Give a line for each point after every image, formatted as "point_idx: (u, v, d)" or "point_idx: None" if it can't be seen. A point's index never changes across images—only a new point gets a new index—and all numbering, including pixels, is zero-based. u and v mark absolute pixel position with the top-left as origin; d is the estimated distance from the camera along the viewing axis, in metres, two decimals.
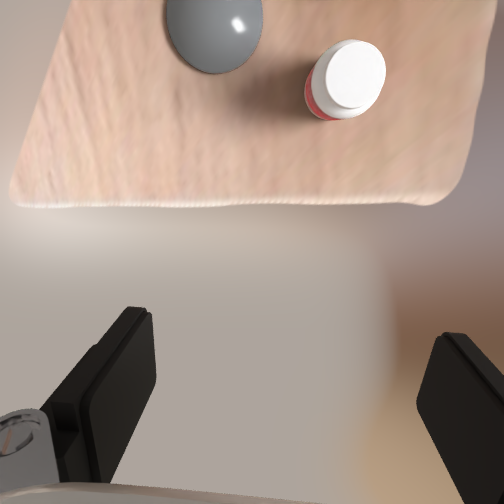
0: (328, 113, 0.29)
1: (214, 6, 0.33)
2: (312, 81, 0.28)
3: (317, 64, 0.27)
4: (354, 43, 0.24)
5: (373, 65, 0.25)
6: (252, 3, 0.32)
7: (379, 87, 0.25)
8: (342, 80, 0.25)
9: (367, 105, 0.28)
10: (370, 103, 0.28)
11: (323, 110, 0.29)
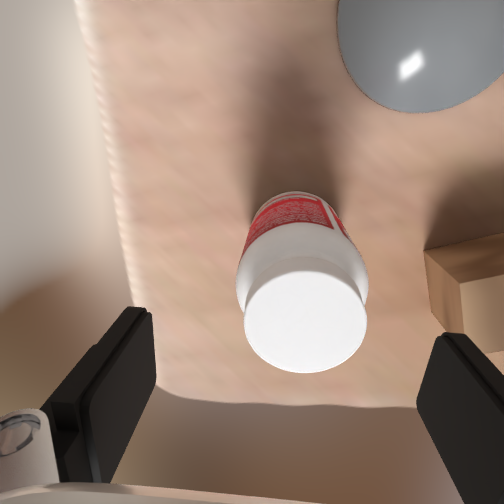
0: (243, 259, 0.15)
1: (457, 8, 0.16)
2: (303, 226, 0.14)
3: (333, 235, 0.14)
4: (363, 321, 0.12)
5: (320, 354, 0.13)
6: (444, 92, 0.18)
7: (280, 365, 0.13)
8: (297, 302, 0.12)
9: None
10: None
11: (249, 249, 0.14)
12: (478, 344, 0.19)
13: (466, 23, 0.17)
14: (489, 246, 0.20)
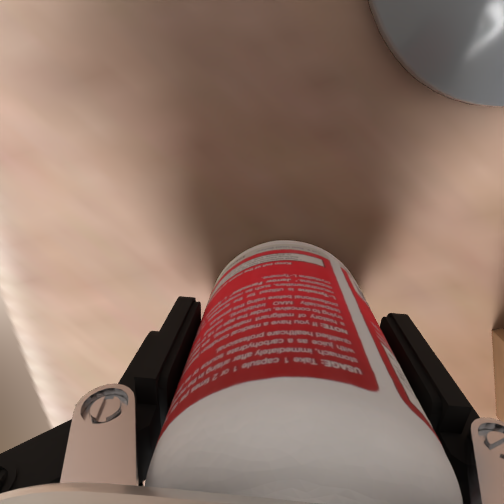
0: (155, 464, 0.06)
1: None
2: (303, 399, 0.05)
3: (383, 427, 0.05)
4: None
5: None
6: None
7: None
8: None
9: None
10: None
11: (169, 440, 0.06)
12: None
13: None
14: None
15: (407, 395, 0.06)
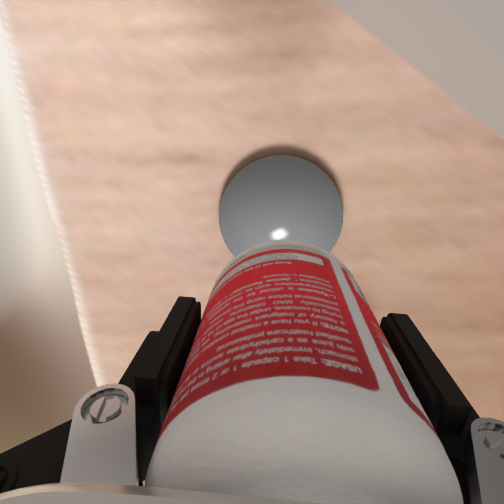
0: (155, 464, 0.06)
1: (292, 220, 0.26)
2: (303, 398, 0.05)
3: (384, 426, 0.05)
4: None
5: None
6: None
7: None
8: None
9: None
10: None
11: (169, 439, 0.06)
12: None
13: (299, 228, 0.26)
14: None
15: (407, 394, 0.06)
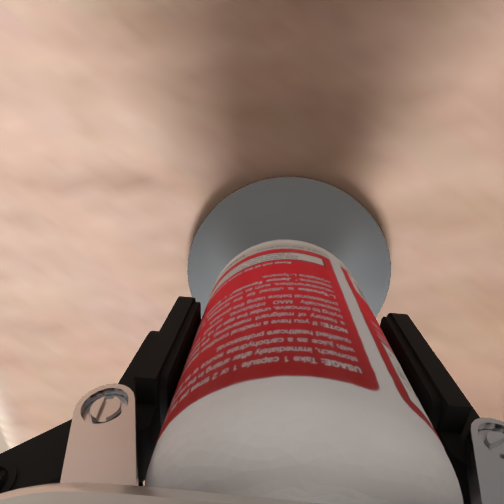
0: (155, 463, 0.06)
1: None
2: (303, 397, 0.05)
3: (384, 426, 0.05)
4: None
5: None
6: None
7: None
8: None
9: None
10: None
11: (169, 439, 0.06)
12: None
13: None
14: None
15: (407, 394, 0.06)
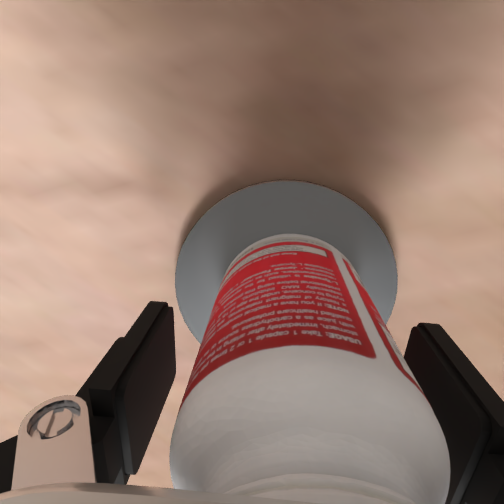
0: (181, 422, 0.07)
1: None
2: (310, 362, 0.06)
3: (379, 386, 0.06)
4: None
5: None
6: None
7: None
8: None
9: None
10: None
11: (193, 401, 0.07)
12: None
13: None
14: None
15: (401, 364, 0.07)
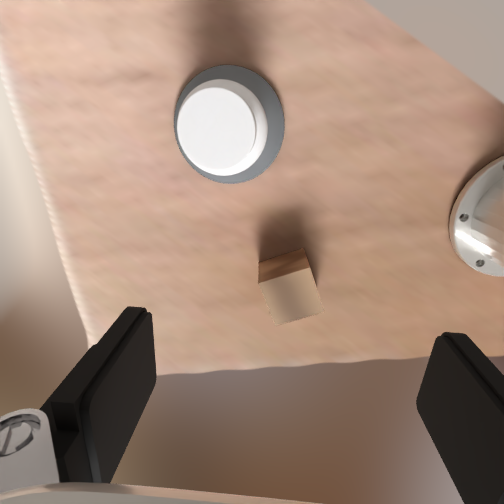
0: (180, 109, 0.21)
1: None
2: (217, 79, 0.21)
3: (237, 83, 0.20)
4: (252, 122, 0.19)
5: (229, 153, 0.19)
6: (244, 171, 0.31)
7: (205, 165, 0.20)
8: (209, 112, 0.19)
9: None
10: (197, 163, 0.22)
11: (183, 101, 0.21)
12: (279, 318, 0.31)
13: None
14: (289, 258, 0.33)
15: None
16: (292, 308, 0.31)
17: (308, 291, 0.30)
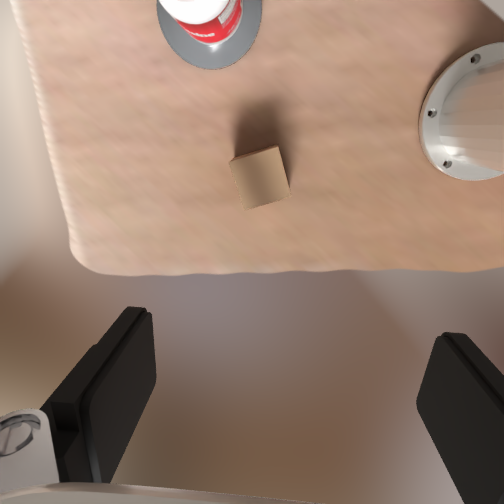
0: None
1: None
2: None
3: None
4: None
5: None
6: (222, 56, 0.32)
7: None
8: None
9: (163, 0, 0.23)
10: (166, 4, 0.23)
11: None
12: (248, 201, 0.33)
13: None
14: (262, 149, 0.34)
15: None
16: (260, 191, 0.32)
17: (276, 173, 0.31)
